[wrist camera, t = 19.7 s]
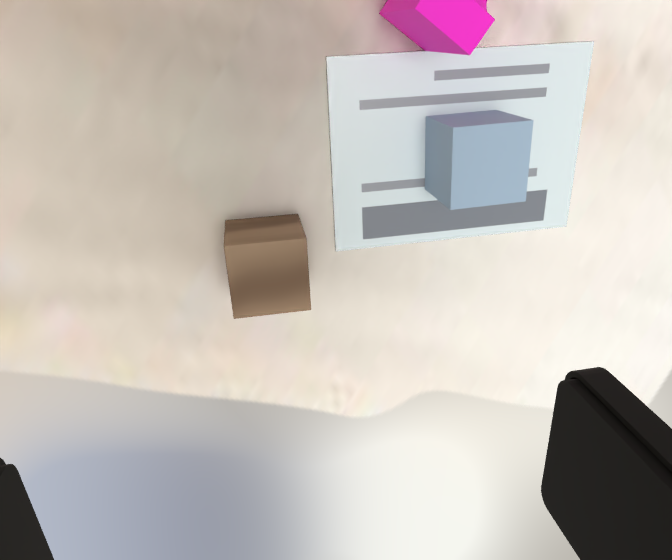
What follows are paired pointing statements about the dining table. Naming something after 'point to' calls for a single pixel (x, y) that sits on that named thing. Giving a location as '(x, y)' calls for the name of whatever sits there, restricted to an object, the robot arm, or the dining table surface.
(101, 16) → the dining table surface
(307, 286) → the walnut cube
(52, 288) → the dining table surface
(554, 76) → the letter
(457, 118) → the slate cube
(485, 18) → the toy block
